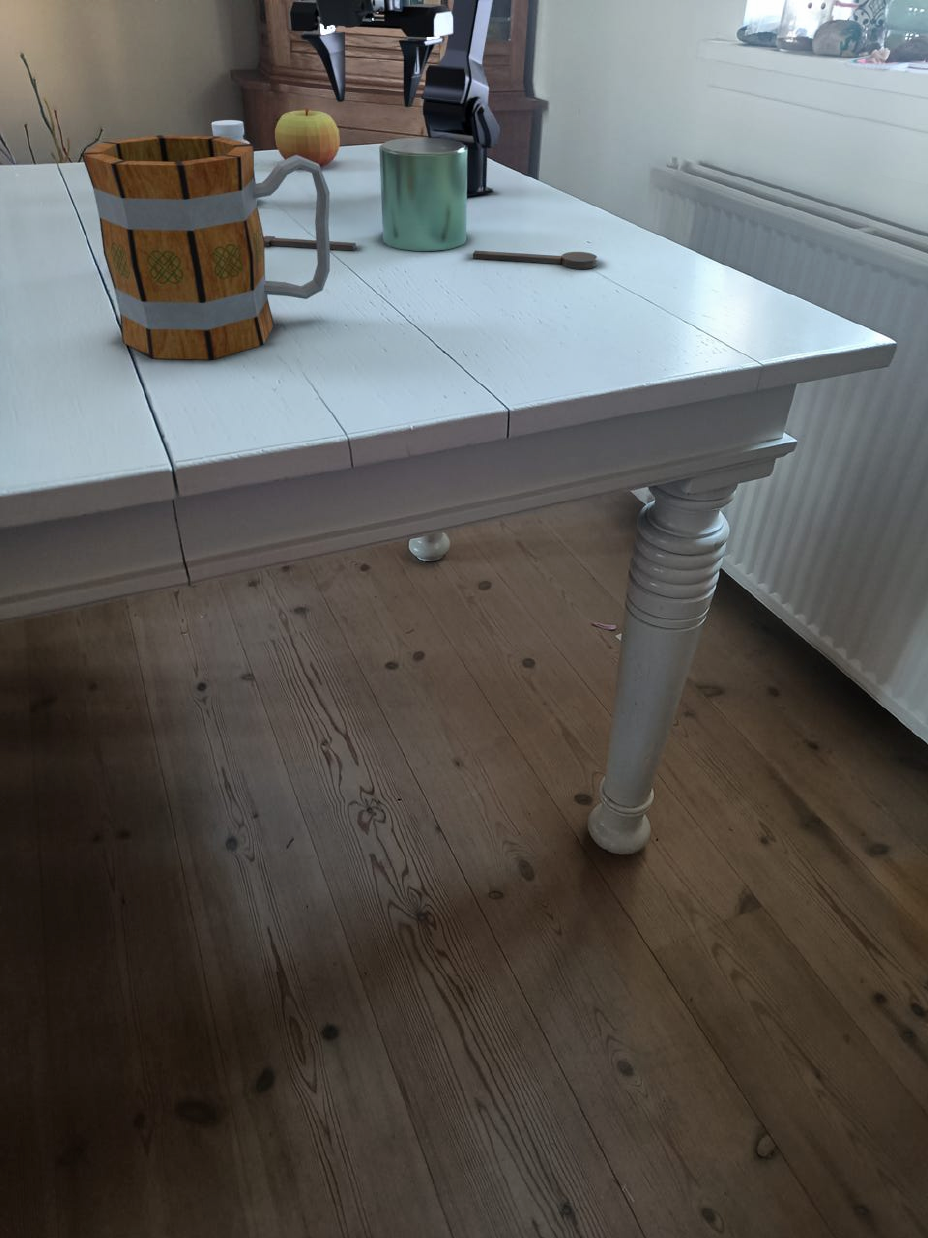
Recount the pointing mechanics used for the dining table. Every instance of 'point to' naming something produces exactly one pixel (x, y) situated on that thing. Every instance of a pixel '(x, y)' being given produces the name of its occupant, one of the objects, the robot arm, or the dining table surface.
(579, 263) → the spoon
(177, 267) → the mug
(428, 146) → the can
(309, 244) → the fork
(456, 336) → the dining table surface
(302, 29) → the robot arm
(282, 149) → the apple
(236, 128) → the pill bottle
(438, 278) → the dining table surface
